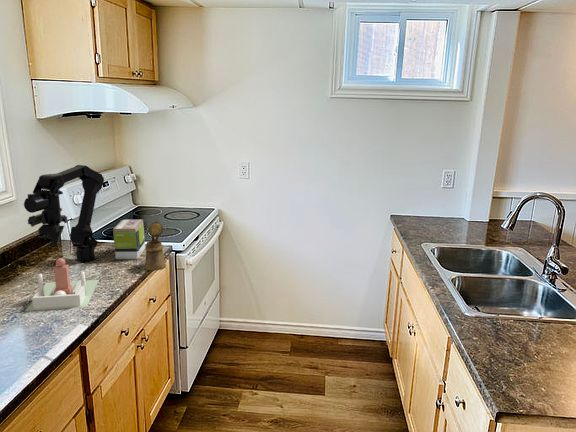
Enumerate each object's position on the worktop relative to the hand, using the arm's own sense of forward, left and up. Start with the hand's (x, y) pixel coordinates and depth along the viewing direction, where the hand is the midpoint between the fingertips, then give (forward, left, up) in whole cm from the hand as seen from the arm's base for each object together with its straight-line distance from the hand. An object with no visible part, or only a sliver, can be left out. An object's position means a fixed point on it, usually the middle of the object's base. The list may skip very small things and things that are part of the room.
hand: (55, 245), depth 175 cm
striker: (+12, +21, -12) cm, 27 cm away
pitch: (+11, +20, -12) cm, 26 cm away
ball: (+16, +25, -10) cm, 31 cm away
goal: (+16, +24, -12) cm, 31 cm away
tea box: (-32, +6, -12) cm, 35 cm away
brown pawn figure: (-28, +26, -12) cm, 40 cm away
